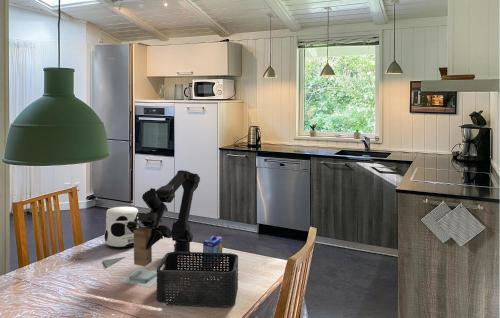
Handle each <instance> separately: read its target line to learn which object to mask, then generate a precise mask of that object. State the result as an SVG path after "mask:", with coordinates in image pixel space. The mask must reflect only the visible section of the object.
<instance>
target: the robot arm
mask: <svg viewBox="0 0 500 318" xmlns="http://www.w3.org/2000/svg"><path fill="white" fill-rule="evenodd" d="M200 182H201V177H200V176H199V174H198V173H193V172H190V171H188V170H184V169H180V170H177V172H176V174H175V175H174V176H173V178H171V179H170V180H169V182H168V183H167V184H166V185H163V186H162V185H161V186H160V187H158V188H157V189H156V188H152V187H151V188H150V189H149V190H147V191H146V192H144V193H143V194H142V197H141V199H142V200H143V202H144V203H145V205H146V206H147V208H148V209H150V210H149V212H146V213H145V212H138V222H133V221H130V222H128V223H127V226H126V227H127V228H128V229H129V230H130V231H131V232H132V233H134V230H136V229H138V228H140V227H142V228H149V229H152V233H151V237H150V239H149V242H148V244H147V247H146V249H147V250H148V249H149V248H150V247H151V246H153V245H155V244H156V243H158V242H159V241H160V240H162V239H164V238H165V239H172V241H173V242H175V243H174V244H173V245H174V249H173V250H174V251H173V252H191V250H190V249H191V248H190V247H191V245H190V244H191V243H192V242H193V239H194V235H193V234H192V232H191V226H190V223H189V218H190V213H191V208H192V202H193V196H194V193H195V191H196V190H197V189H198V188H199V183H200ZM181 186H182V190H183V191H182V196H181V202H180V208H179V212H178V217H177V220H175V221H174V222H173V223H172V228H170V227H169V226H168V225H165V224H162V223H163V220H162V218H163V217H164V214H165V212H168V211H169V209H168V206H167V205H166V204H170V203H172V201H174V199H175V197H176V194H175V193H176V191H177V190H178V189H180V187H181ZM165 203H166V204H165ZM139 221H140V224H141V225H140V224H139ZM160 223H161V224H160Z"/></svg>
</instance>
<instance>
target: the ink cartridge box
mask: <svg viewBox="0 0 500 318" xmlns="http://www.w3.org/2000/svg"><path fill="white" fill-rule="evenodd" d="M202 242H203V243H202V252H204V253H223V248H224V247H223V244H224V237H223V236H219V233H216V234H214V235H211V236H210V237H209V238H207V239H205V240H203V241H202ZM208 258H209V257H208ZM210 258H212V257H210ZM214 258H215V257H214ZM217 258H219V257H217ZM220 258H222V257H220ZM204 260H205V259H204ZM207 260H209V259H207ZM211 260H212V259H211ZM210 263H212V262H210ZM214 263H215V262H214ZM217 263H219V262H217ZM220 263H221V262H220ZM204 265H205V264H204ZM207 265H209V264H207ZM211 265H212V264H211ZM214 265H215V264H214ZM210 268H211V267H210Z"/></svg>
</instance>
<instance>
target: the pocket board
mask: <svg viewBox="0 0 500 318" xmlns="http://www.w3.org/2000/svg"><path fill="white" fill-rule="evenodd" d="M118 282H120V283H124V284H125V283H126V284H131V285H137V286H142V287H147V288H150V287H152V286H153V285H154V284H157V270H155V271H154V270H148V269H141V268H138V269H136V270H134V271H133V272H131V273H129V274H128V275H126V276H125V277H123V278H121V279H120V280H118Z"/></svg>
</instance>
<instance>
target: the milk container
mask: <svg viewBox="0 0 500 318" xmlns="http://www.w3.org/2000/svg"><path fill="white" fill-rule="evenodd" d="M105 216H106V218H105V224H106V226H105V232H104V242H105V245H107V246H108V247H110V248H114V249H115V248H117V249H119V248H120V249H121V248H129V247H134V233H132V232H131V231H130V230H129V229H128V228H127V227H126V226H127V223H128V222H130V221H133V222H138V223H139V221H138V216H139V209H138V208H136V207H133V206H115V207H110V208H108V209H107V210H106V214H105Z"/></svg>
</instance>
